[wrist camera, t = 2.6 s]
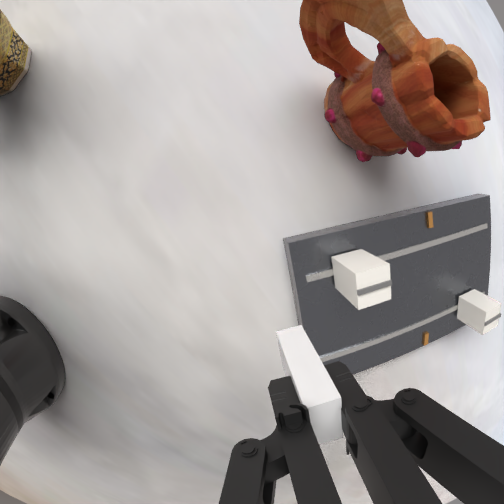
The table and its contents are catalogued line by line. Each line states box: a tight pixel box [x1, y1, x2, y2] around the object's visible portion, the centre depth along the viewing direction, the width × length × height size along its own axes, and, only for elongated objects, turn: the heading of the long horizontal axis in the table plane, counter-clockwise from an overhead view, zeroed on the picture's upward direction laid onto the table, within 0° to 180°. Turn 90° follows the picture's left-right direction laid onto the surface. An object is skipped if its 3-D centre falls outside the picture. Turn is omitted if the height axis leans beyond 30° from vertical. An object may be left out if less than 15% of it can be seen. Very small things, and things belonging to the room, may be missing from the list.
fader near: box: [331, 249, 392, 310], centre depth 24 cm, size 3×3×5 cm
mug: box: [299, 0, 490, 162], centre depth 18 cm, size 15×8×15 cm, turn 46°
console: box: [283, 194, 491, 374], centre depth 29 cm, size 26×16×2 cm, turn 102°
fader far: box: [457, 289, 501, 335], centre depth 27 cm, size 3×3×5 cm
